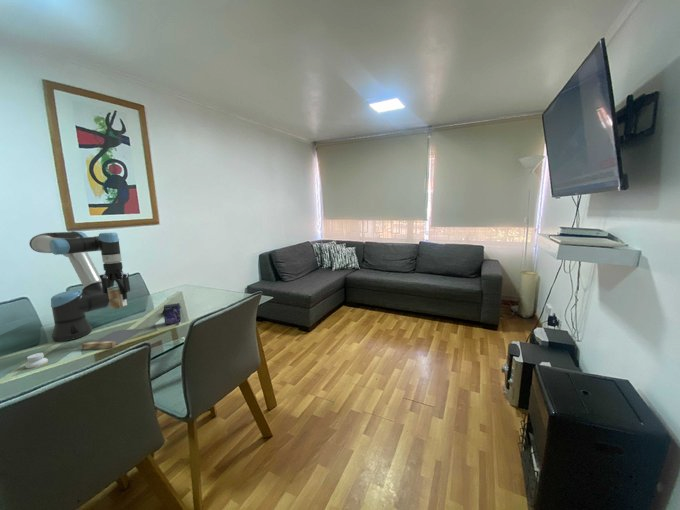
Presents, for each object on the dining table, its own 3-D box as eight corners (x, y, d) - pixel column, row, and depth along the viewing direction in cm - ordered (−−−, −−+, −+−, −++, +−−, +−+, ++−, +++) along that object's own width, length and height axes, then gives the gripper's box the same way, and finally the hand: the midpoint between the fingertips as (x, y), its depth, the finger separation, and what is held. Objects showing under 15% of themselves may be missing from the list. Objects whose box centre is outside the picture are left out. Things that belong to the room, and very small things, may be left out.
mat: (87, 346, 130) (87, 345, 130) (116, 330, 148) (115, 330, 148) (117, 344, 131) (117, 344, 131) (142, 329, 149) (142, 328, 148)
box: (165, 325, 154) (162, 307, 152) (165, 322, 159) (163, 304, 157) (181, 322, 158) (179, 305, 156) (181, 319, 162) (179, 302, 161)
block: (110, 308, 139) (107, 288, 138) (118, 305, 144) (115, 285, 142) (120, 308, 139) (116, 287, 138) (127, 305, 144) (124, 285, 143)
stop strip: (82, 349, 127) (81, 344, 127) (85, 347, 129) (84, 342, 129) (112, 347, 128) (112, 342, 127) (115, 345, 130) (115, 340, 129)
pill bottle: (53, 374, 120) (48, 350, 118) (48, 381, 114) (43, 356, 113) (32, 379, 116) (27, 354, 115) (25, 387, 111) (20, 360, 109)
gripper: (88, 264, 134) (95, 308, 138) (124, 263, 135) (130, 307, 138) (101, 261, 142) (107, 303, 145) (135, 260, 142) (141, 302, 145)
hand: (118, 305), depth 142 cm, fingers closed on block, 5 cm apart
